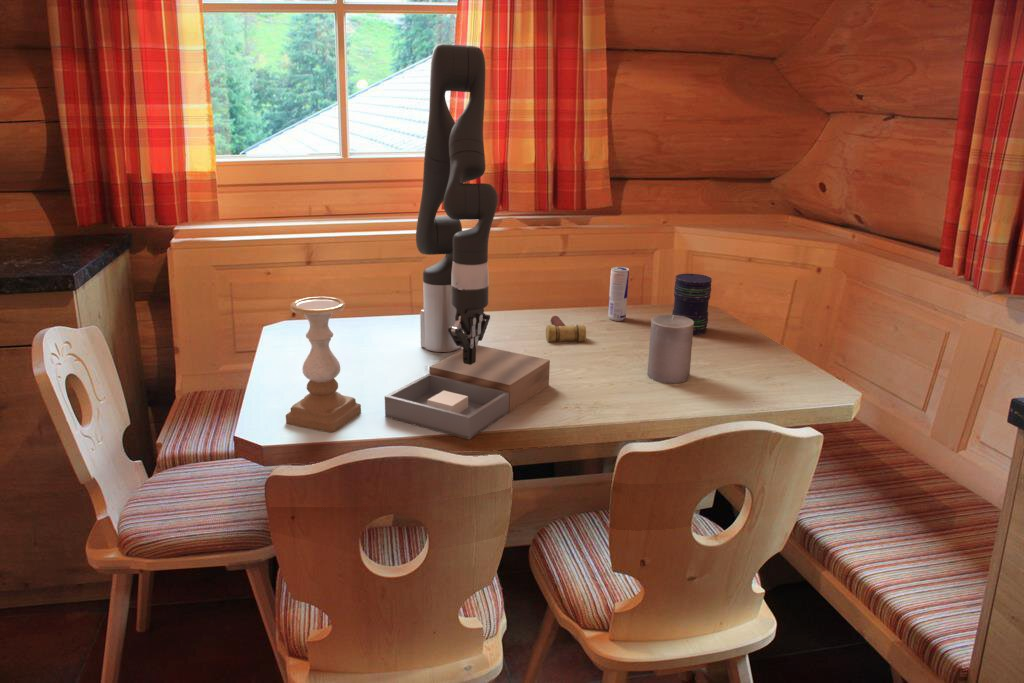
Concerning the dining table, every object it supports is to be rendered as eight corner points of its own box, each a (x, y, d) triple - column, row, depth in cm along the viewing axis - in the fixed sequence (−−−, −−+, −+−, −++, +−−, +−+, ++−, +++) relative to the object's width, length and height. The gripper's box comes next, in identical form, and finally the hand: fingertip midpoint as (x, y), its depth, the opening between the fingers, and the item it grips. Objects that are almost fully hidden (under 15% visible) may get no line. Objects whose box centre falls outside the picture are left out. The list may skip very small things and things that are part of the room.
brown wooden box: (429, 392, 174) (429, 366, 172) (473, 368, 189) (473, 344, 187) (509, 412, 165) (510, 385, 163) (548, 385, 180) (549, 360, 178)
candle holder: (284, 423, 157) (276, 306, 150) (316, 403, 167) (310, 293, 159) (332, 433, 154) (326, 313, 146) (362, 412, 163) (357, 299, 156)
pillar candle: (663, 366, 193) (667, 306, 189) (697, 376, 187) (703, 315, 182) (638, 376, 187) (642, 314, 182) (673, 387, 180) (678, 324, 176)
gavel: (536, 310, 227) (570, 309, 228) (535, 325, 228) (570, 325, 229) (548, 327, 207) (586, 326, 208) (548, 344, 208) (586, 343, 209)
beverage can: (628, 318, 231) (632, 267, 226) (621, 322, 227) (624, 271, 222) (612, 315, 234) (615, 265, 229) (604, 319, 230) (607, 268, 225)
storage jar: (710, 336, 217) (716, 282, 212) (674, 335, 217) (678, 281, 212) (702, 325, 226) (707, 273, 222) (667, 324, 226) (672, 273, 222)
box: (385, 416, 161) (384, 396, 160) (428, 392, 174) (428, 373, 172) (469, 439, 152) (469, 418, 151) (508, 412, 165) (509, 392, 163)
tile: (443, 390, 167) (443, 401, 168) (427, 399, 162) (427, 411, 163) (468, 396, 164) (468, 407, 165) (452, 406, 159) (452, 417, 160)
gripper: (471, 273, 169) (471, 351, 175) (436, 287, 158) (436, 369, 164) (502, 279, 166) (500, 357, 171) (468, 293, 155) (467, 376, 160)
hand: (469, 363), depth 167 cm, fingers closed
